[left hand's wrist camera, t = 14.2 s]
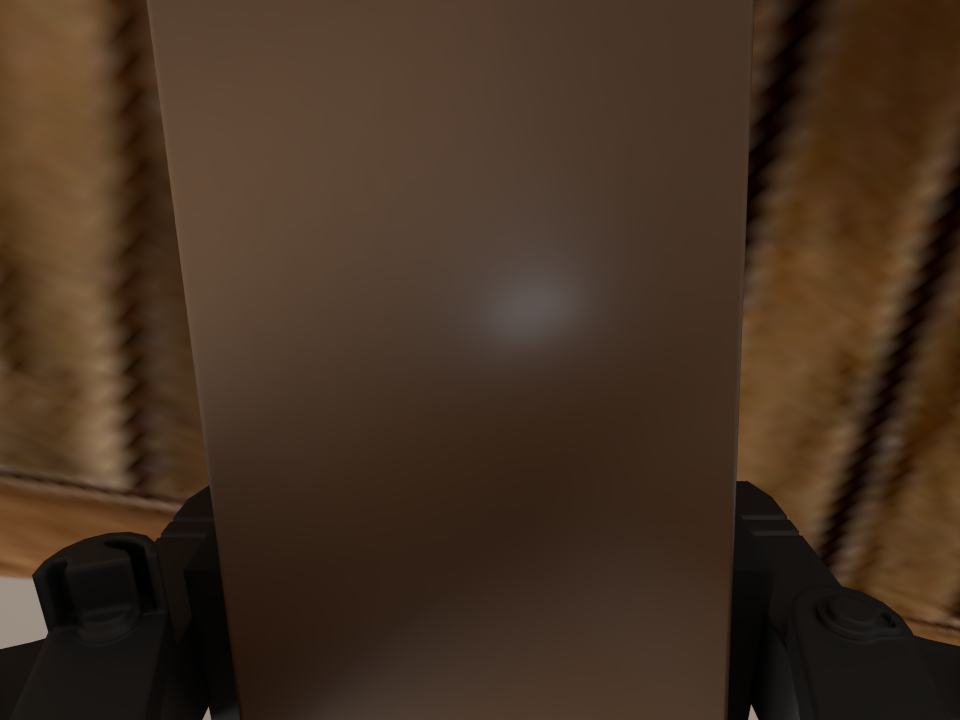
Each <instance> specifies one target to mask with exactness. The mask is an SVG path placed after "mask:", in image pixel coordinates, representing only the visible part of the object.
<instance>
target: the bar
mask: <svg viewBox="0 0 960 720" xmlns="http://www.w3.org/2000/svg"><path fill="white" fill-rule="evenodd" d="M147 7H148V14H149V22H150V30H151V37H152V45H153V53H154V61H155V68H156V76H157V84H158V91H159V99H160V107H161V114H162V122H163V130H164V138H165V145H166V153H167V161H168V168H169V176H170V184H171V192H172V199H173V207H174V215H175V222H176V230H177V238H178V246H179V253H180V261H181V269H182V276H183V284H184V292H185V300H186V307H187V315H188V323H189V330H190V338H191V346H192V353H193V361H194V369H195V377H196V384H197V392H198V400H199V407H200V415H201V423H202V431H203V438H204V446H205V454H206V461H207V469H208V477H209V485H210V492H211V500H212V508H213V515H214V523H215V531H216V538H217V546H218V554H219V562H220V569H221V577H222V585H223V592H224V600H225V608H226V616H227V623H228V631H229V639H230V646H231V654H232V662H233V670H234V677H235V685H236V693H237V700H238V708H239V716H240V720H727V715H728V688H729V662H730V635H731V609H732V582H733V556H734V529H735V503H736V476H737V450H738V423H739V397H740V370H741V344H742V317H743V291H744V264H745V238H746V211H747V185H748V158H749V132H750V105H751V79H752V52H753V26H754V0H147Z"/></svg>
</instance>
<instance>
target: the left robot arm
mask: <svg viewBox="0 0 960 720" xmlns="http://www.w3.org/2000/svg"><path fill="white" fill-rule="evenodd" d="M32 577H33V580H34V584H35V587H36V591H37V594H38V598H39V601H40V605H41V608H42V612H43V615H44V619H45V622H46V626H47V629H48V634H47V637H46V638H45V639H41V640H38V641H35V642H31V643H26V644H22V645H18V646H13V647H9V648H4V649H0V720H202V719H203V717H204V715H205V713H206V711H207V709H208V707H209V710H210V715H211V720H240V716H239V708H238V700H237V693H236V685H235V677H234V670H233V662H232V654H231V646H230V639H229V631H228V623H227V616H226V608H225V600H224V592H223V585H222V577H221V569H220V562H219V554H218V546H217V538H216V531H215V523H214V515H213V508H212V500H211V492H210V485H209V486H207V487H206V488H204V489H203V490H201V491H200V492H198V493H197V494H195V495H194V496H192V497H191V498H189V499H188V500H187V501H186V502H185V504H184V505H183V506H182V507H181V509H180V510H179V511H178V513H177V514H176V515H175V517H174V518H173V522H170V523H169V524H168V526H167V527H166V528H165V529H164V531H163V532H162V533H161V538H157V540H156V541H155V542H154V541H152V540H151V539H150V538H149V537H148V536H146V535H142V534H137V533H132V532H120V533H107V534H103V535H99V536H95V537H91V538H87V539H84V540H82V541H79V542H77V543H75V544H72V545H70V546H68V547H65V548H63V549H61V550H60V551H59V552H57V553H56V554H54V555H53V556H51V557H50V558H48V559H47V560H45V561H44V562H43V563H42V564H41V565H40V567H39V568H38V569H37V570H36V571H35V572H34V574H33V575H32ZM751 705H752V707H753V709H754V711H755V713H756V715H757V717H758V720H960V646H956V645H951V644H947V643H942V642H937V641H933V640H928V639H925V638H921V637H918V636H914V635H913V633H912V631H911V630H910V628H909V627H908V626H907V624H906V623H905V621H904V620H903V619H902V617H901V616H900V615H898V614H897V613H896V612H895V611H893V610H892V609H891V608H889V607H888V606H887V605H886V604H884V603H883V602H881V601H879V600H877V599H875V598H873V597H871V596H869V595H867V594H865V593H863V592H860V591H857V590H853V589H849V588H846V587H842V586H841V585H840V584H839V582H838V581H837V580H836V578H835V577H834V576H833V575H832V573H831V572H830V571H829V570H828V568H827V567H826V566H825V564H824V563H823V562H822V561H821V559H820V558H819V557H818V555H817V554H816V553H815V552H814V550H813V549H812V548H811V547H810V545H809V544H808V543H807V541H806V540H805V539H804V538H803V536H799V531H798V530H797V529H796V527H795V526H794V525H793V523H792V522H791V521H790V520H787V516H786V515H785V513H784V512H783V511H782V509H781V508H780V507H779V506H778V504H777V503H776V502H775V500H774V499H773V498H772V497H771V496H769V495H768V494H766V493H765V492H763V491H762V490H760V489H759V488H757V487H756V486H754V485H753V484H751V483H750V482H748V481H736V503H735V529H734V556H733V582H732V609H731V635H730V662H729V688H728V715H727V720H748V717H749V712H750V707H751Z"/></svg>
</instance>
